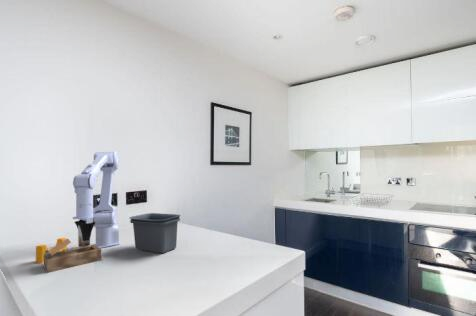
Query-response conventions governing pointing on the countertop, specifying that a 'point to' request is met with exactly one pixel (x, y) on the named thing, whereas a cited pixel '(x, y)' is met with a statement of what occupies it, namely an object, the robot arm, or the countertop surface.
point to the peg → (80, 240)
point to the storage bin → (155, 231)
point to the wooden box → (71, 258)
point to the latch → (58, 247)
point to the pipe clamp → (42, 248)
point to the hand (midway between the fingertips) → (84, 239)
